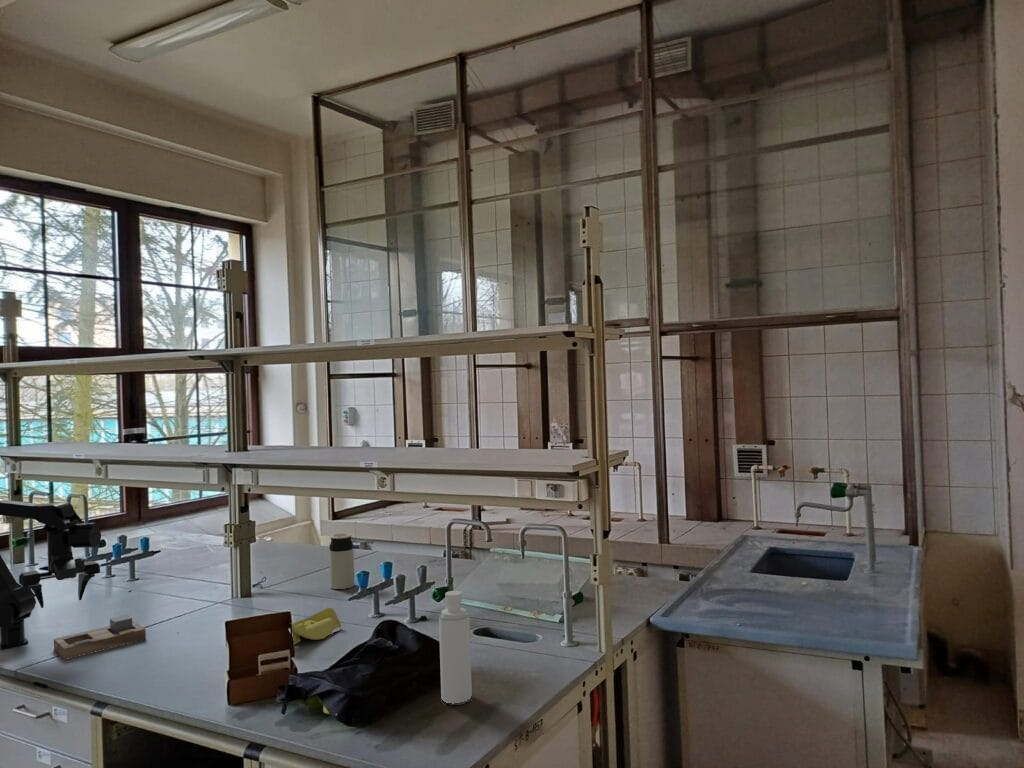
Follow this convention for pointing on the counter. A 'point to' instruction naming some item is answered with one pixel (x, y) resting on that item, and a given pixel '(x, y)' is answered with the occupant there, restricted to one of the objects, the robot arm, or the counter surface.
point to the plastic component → (316, 625)
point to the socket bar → (96, 640)
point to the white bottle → (455, 650)
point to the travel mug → (341, 561)
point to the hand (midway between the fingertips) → (61, 603)
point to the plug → (120, 624)
